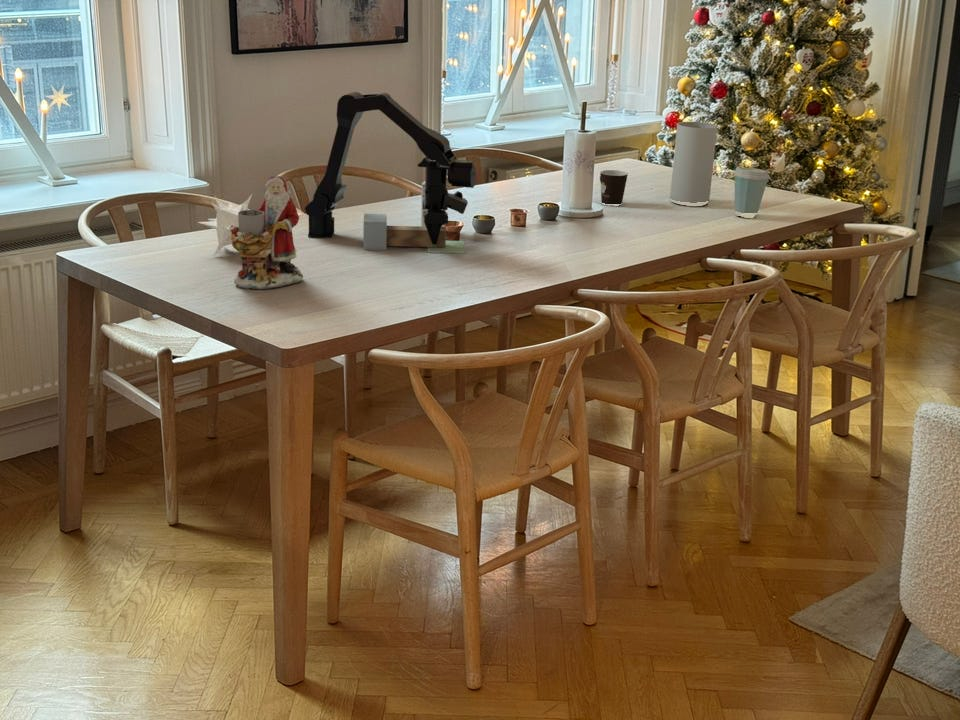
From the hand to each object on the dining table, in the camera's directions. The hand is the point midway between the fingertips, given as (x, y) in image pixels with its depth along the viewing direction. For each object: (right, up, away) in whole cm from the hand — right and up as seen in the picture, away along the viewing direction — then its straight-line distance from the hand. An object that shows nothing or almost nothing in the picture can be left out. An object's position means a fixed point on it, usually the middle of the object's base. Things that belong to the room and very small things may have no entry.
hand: (434, 242), depth 315 cm
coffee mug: (+54, +18, +59) cm, 82 cm away
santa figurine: (-38, -13, -35) cm, 54 cm away
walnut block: (-5, -1, 0) cm, 5 cm away
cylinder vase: (+80, +19, +64) cm, 104 cm away
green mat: (+3, -1, +1) cm, 3 cm away
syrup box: (-1, +4, +16) cm, 16 cm away
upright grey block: (-16, -1, -1) cm, 16 cm away
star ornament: (-51, -4, -12) cm, 53 cm away
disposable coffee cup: (+95, +13, +49) cm, 108 cm away
